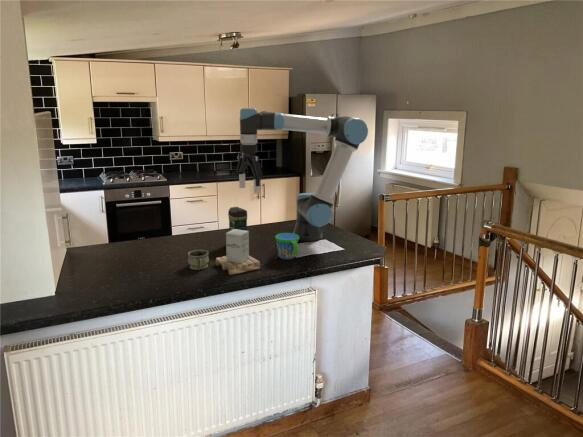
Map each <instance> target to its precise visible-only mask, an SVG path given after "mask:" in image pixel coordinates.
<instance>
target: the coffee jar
mask: <svg viewBox="0 0 583 437" xmlns="http://www.w3.org/2000/svg"><path fill="white" fill-rule="evenodd" d="M227 211H228V214H227V216H228V232H229V231H231V230H233V229H238V230H245V231H248V211H247V210H246V209H244V208H241V207H239V206H233V207H230V208H229V209H228V210H227Z"/></svg>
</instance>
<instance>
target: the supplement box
mask: <svg viewBox="0 0 583 437" xmlns="http://www.w3.org/2000/svg"><path fill="white" fill-rule="evenodd" d="M225 241H226V242H225V245H226V246H225V248H226V250H225V251H226V255H225V256H226V257H227V261H230V262H236V263H243V262H244V261H246V260H247V259H249V256H250V231H249V230H247V231H245V230H238V229H233V230H231V231H229V230H228V231H227V232H226V233H225Z"/></svg>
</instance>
